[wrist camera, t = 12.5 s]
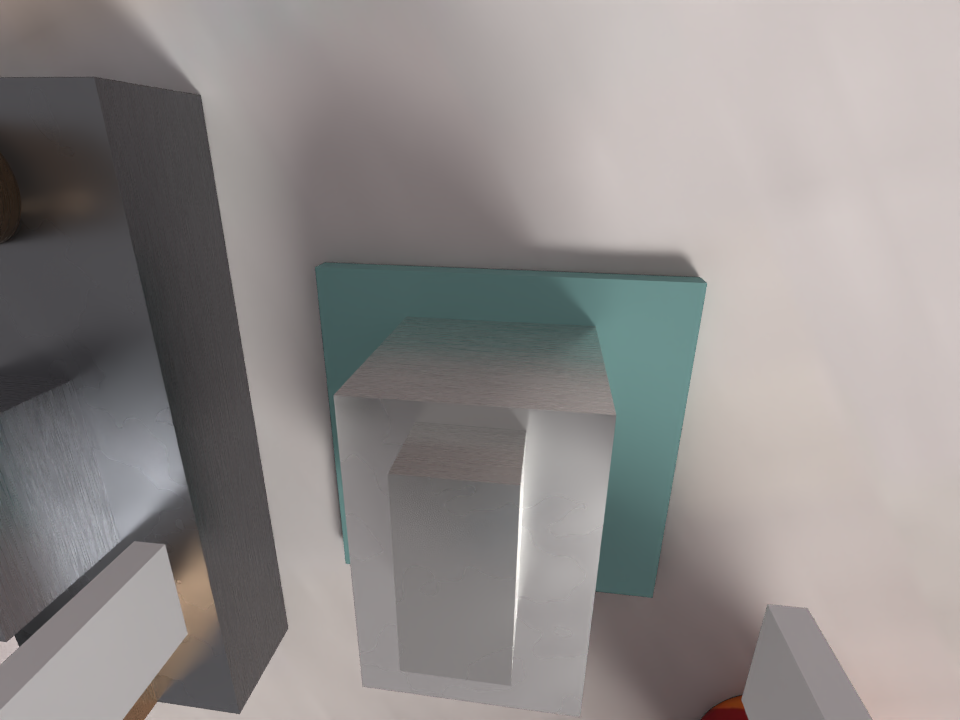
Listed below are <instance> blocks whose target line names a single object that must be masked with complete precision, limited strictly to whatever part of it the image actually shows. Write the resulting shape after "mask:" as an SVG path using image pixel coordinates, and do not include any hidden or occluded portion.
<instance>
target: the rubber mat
mask: <svg viewBox="0 0 960 720" xmlns="http://www.w3.org/2000/svg"><path fill="white" fill-rule="evenodd" d="M315 272H316V281H317V291H318V301H319V310H320V320H321V330H322V339H323V349H324V358H325V368H326V378H327V387H328V397H329V407H330V416H331V426H332V435H333V445H334V455H335V464H336V474H337V484H338V493H339V503H340V512H341V522H342V532H343V541H344V551H345V561H346V564H350V556H349V546H348V536H347V526H346V516H345V506H344V496H343V486H342V476H341V466H340V455H339V445H338V435H337V425H336V415H335V405H334V394H335V393H336V392H337V391H338V390H339V389H340V388H341V386H342V385H343V384H344V383H345V382H346V381H347V380H348V379H349V378H350V377H351V376H352V375H353V374H354V372H355V371H356V370H357V369H358V368H359V367H360V366H361V365H362V364H363V363H364V362H365V361H366V360H367V359H368V357H369V356H370V355H371V354H372V353H373V352H374V351H375V350H376V349H377V348H378V347H379V346H380V345H381V343H382V342H383V341H384V340H385V339H386V338H387V337H388V336H389V335H390V334H391V333H392V332H393V331H394V330H395V328H396V327H397V326H398V325H399V324H400V323H401V322H402V321H403V320H404V319H405V318H406V317H425V318H445V319H464V320H484V321H503V322H522V323H542V324H561V325H581V326H596V330H597V334H598V338H599V343H600V347H601V351H602V356H603V360H604V364H605V368H606V373H607V377H608V381H609V386H610V390H611V394H612V399H613V403H614V407H615V412H616V423H615V431H614V439H613V448H612V456H611V464H610V472H609V481H608V489H607V497H606V506H605V514H604V522H603V531H602V539H601V547H600V555H599V564H598V572H597V580H596V589H595V591H596V592H605V593H614V594H623V595H632V596H641V597H650V598H653V592H654V586H655V581H656V575H657V569H658V563H659V558H660V552H661V546H662V540H663V535H664V529H665V523H666V517H667V512H668V506H669V500H670V494H671V488H672V483H673V477H674V471H675V465H676V460H677V454H678V448H679V442H680V437H681V431H682V425H683V419H684V414H685V408H686V402H687V396H688V391H689V385H690V379H691V373H692V368H693V362H694V356H695V350H696V345H697V339H698V333H699V327H700V322H701V316H702V310H703V304H704V299H705V293H706V287H707V283H706V282H705V281H704V280H703V279H702V278H700V277H681V276H656V275H630V274H605V273H580V272H554V271H529V270H504V269H478V268H453V267H428V266H402V265H377V264H352V263H326V262H325V263H323V264H321V265H319V266H316V267H315Z"/></svg>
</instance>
